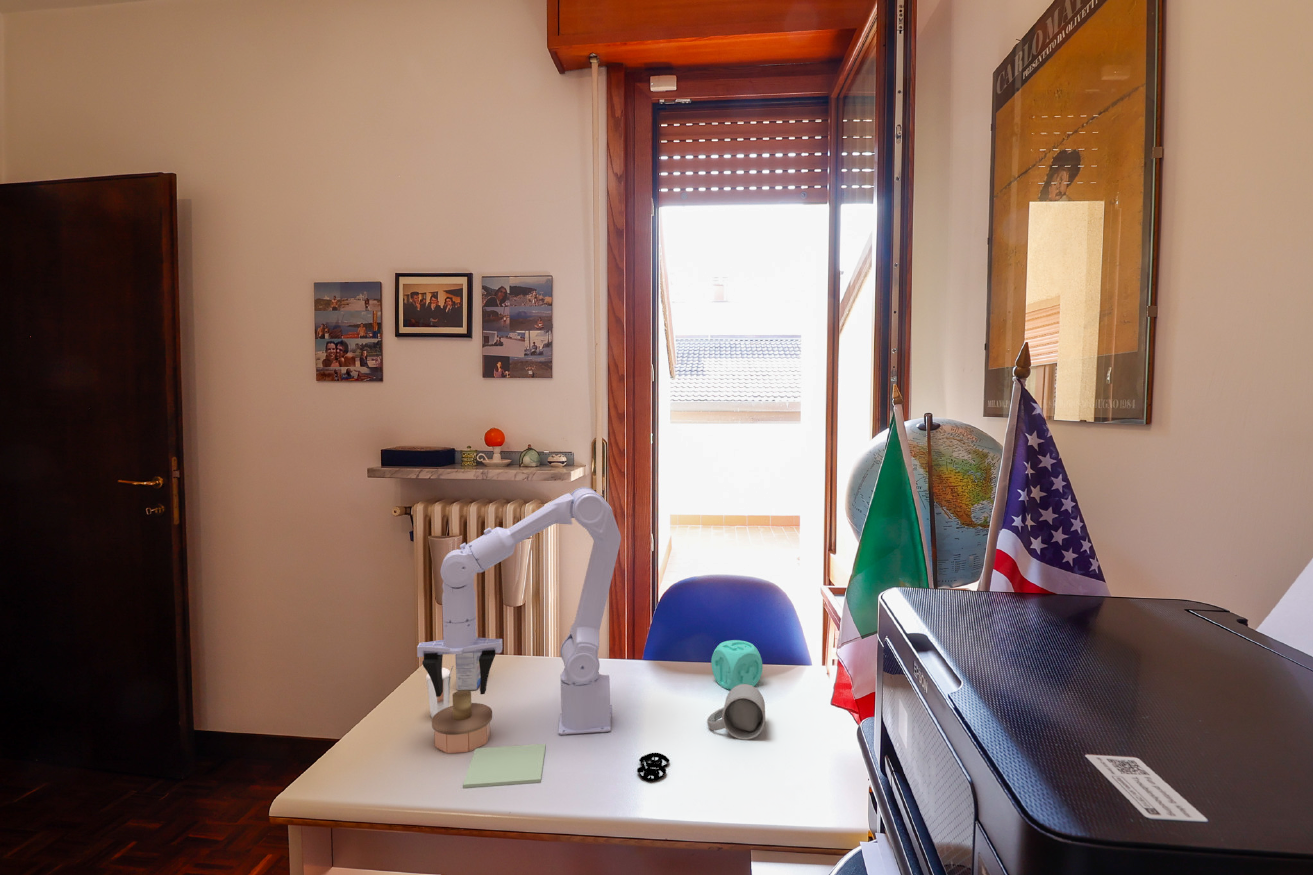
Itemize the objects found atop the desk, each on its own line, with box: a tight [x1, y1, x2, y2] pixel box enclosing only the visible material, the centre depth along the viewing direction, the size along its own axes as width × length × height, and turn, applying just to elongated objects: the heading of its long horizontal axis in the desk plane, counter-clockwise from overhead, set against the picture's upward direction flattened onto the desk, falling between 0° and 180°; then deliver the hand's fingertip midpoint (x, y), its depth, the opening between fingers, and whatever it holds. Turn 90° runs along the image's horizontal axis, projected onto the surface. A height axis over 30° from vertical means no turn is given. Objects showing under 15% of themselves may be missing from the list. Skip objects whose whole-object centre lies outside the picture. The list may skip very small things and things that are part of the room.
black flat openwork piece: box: [636, 752, 670, 783], centre depth 105 cm, size 5×8×1 cm, turn 172°
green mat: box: [462, 743, 547, 789], centre depth 106 cm, size 12×11×1 cm
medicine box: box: [454, 653, 482, 691], centre depth 140 cm, size 8×4×9 cm, turn 179°
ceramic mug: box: [706, 684, 766, 741], centre depth 118 cm, size 11×8×8 cm
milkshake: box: [425, 665, 454, 718], centre depth 125 cm, size 4×5×10 cm
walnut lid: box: [431, 690, 493, 735], centre depth 115 cm, size 10×10×5 cm
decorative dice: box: [710, 639, 764, 691], centre depth 138 cm, size 8×8×8 cm
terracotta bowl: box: [434, 721, 491, 754], centre depth 115 cm, size 9×9×4 cm
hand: (461, 693), depth 115 cm, fingers open, 7 cm apart
